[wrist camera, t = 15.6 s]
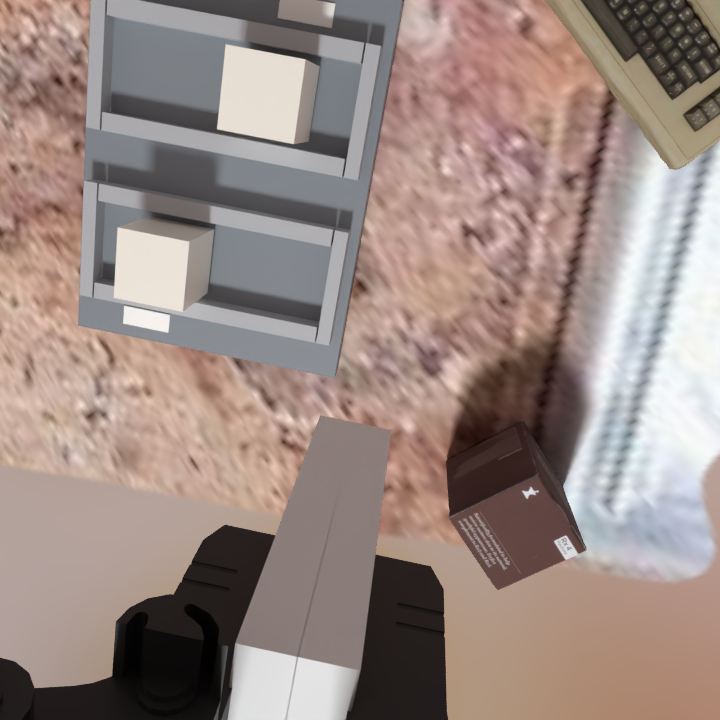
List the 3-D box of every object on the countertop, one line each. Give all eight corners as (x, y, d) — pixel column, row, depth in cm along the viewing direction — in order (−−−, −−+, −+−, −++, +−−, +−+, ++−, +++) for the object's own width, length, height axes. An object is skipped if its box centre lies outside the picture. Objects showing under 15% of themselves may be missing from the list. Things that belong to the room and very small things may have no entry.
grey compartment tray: (105, -52, 38) (82, -64, 36) (403, 4, 38) (401, -5, 35) (89, 319, 46) (69, 330, 43) (337, 369, 45) (331, 384, 43)
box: (443, 457, 47) (445, 516, 40) (523, 417, 45) (539, 471, 38) (486, 525, 48) (496, 593, 41) (565, 488, 47) (589, 553, 40)
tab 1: (149, 216, 41) (117, 227, 37) (214, 229, 41) (189, 241, 37) (145, 280, 43) (113, 297, 38) (207, 292, 42) (182, 311, 38)
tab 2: (248, 52, 38) (225, 44, 33) (319, 66, 37) (305, 59, 33) (240, 128, 39) (217, 129, 35) (308, 141, 39) (293, 143, 35)
